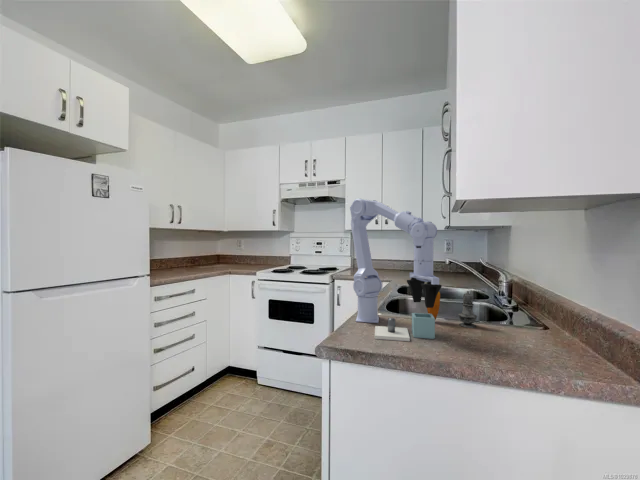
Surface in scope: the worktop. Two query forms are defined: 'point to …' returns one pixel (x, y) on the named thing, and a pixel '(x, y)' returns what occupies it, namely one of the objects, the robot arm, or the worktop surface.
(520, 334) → the worktop surface
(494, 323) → the worktop surface
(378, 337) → the post base
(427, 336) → the sleeve
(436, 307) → the carrot
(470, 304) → the grey chess piece
